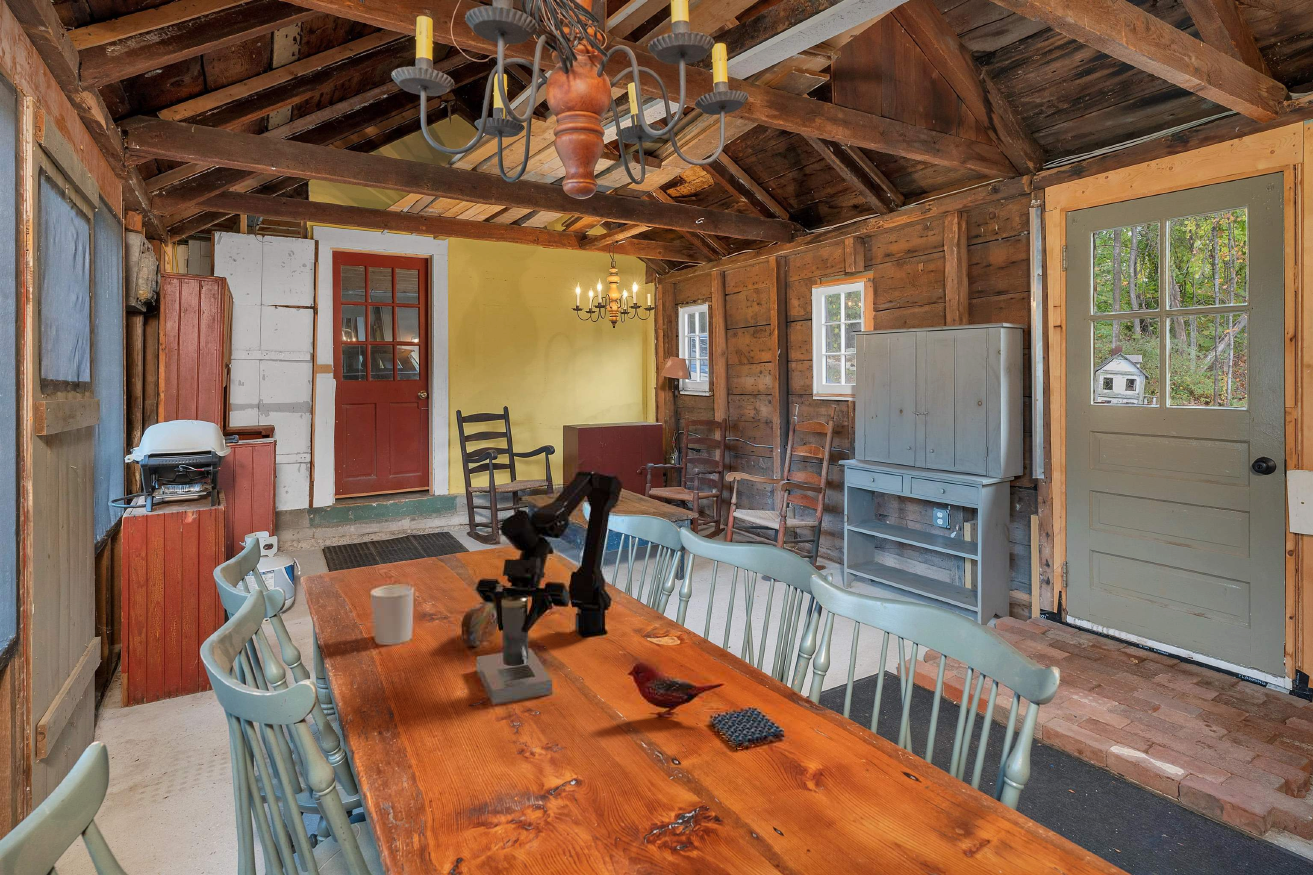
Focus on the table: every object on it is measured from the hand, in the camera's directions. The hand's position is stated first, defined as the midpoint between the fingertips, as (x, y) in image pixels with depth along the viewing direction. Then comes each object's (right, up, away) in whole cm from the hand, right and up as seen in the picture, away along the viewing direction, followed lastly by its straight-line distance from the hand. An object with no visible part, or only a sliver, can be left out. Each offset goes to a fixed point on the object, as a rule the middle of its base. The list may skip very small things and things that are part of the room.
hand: (512, 631), depth 135 cm
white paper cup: (-35, -10, +29) cm, 47 cm away
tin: (-14, -10, +29) cm, 34 cm away
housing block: (-1, -12, +5) cm, 13 cm away
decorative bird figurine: (+32, -13, -10) cm, 36 cm away
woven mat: (+44, -14, -15) cm, 49 cm away
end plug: (0, -6, +2) cm, 7 cm away
